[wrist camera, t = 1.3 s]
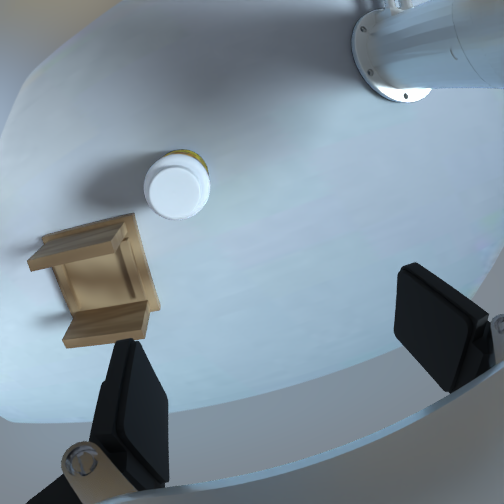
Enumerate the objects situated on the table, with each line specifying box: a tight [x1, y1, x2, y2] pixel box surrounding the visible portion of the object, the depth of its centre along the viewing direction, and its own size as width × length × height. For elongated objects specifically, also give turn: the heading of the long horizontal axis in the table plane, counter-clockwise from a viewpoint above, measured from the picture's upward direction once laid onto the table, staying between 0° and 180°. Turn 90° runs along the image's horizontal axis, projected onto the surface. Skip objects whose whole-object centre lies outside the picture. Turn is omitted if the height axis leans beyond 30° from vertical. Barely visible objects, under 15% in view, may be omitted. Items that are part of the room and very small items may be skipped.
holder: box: [27, 213, 161, 348], centre depth 31 cm, size 12×12×7 cm
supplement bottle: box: [144, 149, 210, 220], centre depth 27 cm, size 6×6×10 cm
